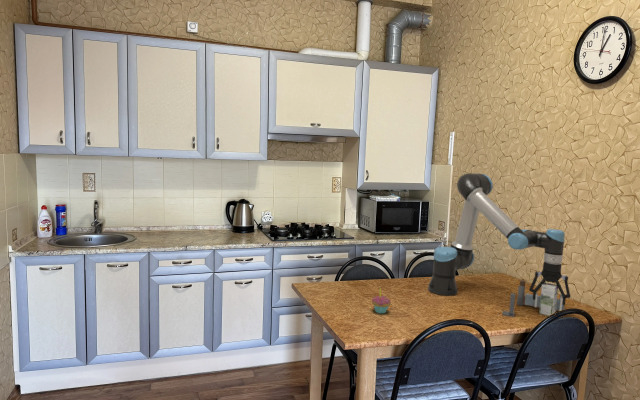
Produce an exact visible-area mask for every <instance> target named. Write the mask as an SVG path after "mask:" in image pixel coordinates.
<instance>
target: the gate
mask: <svg viewBox="0 0 640 400" xmlns="http://www.w3.org/2000/svg"><path fill="white" fill-rule="evenodd" d="M525 291H526V286H525V287H524V286H520V285H518V288H517V297H516V298H517V299H516V305H517V306H524V305H526V306H531V307H535V300H533V293H532V294H530V293H526V292H525ZM561 297H562V295H561V294H560V295H559V298H557V302H556V311H558V312H559V308H560V299H561ZM540 300H541V295H538V296H537V306H536V307H535V308H540ZM562 310H564V311H565V305H562Z"/></svg>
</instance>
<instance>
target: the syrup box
mask: <svg viewBox="0 0 640 400" xmlns="http://www.w3.org/2000/svg"><path fill="white" fill-rule="evenodd" d="M558 292H559V289H558V287H557V285H556V283H551V282H545V283H544V284H542V286H541V291H540V296H541V300H540V307H539V310H538V311H539V312H538V314H539V315H542V316H547V317H550V316H549V315H551V314H553V313H555V312H557V310H556V302H557V299H558V294H559V293H558ZM555 314H556V313H555Z"/></svg>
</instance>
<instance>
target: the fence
mask: <svg viewBox="0 0 640 400" xmlns="http://www.w3.org/2000/svg"><path fill="white" fill-rule="evenodd" d="M519 286H524V287H525V288H526V280H523V279H520V280H519Z"/></svg>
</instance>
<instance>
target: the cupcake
mask: <svg viewBox="0 0 640 400" xmlns="http://www.w3.org/2000/svg"><path fill="white" fill-rule="evenodd" d="M371 304H372V305H373V306H374V311H375V313H377V314H386V313H387V310H388V308H389V307H390V306H391V300H390V299H389V298H388V297H387V296H384V295H382V288H381V287H379V295H377V296H374V297H373V298H372V299H371Z"/></svg>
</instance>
